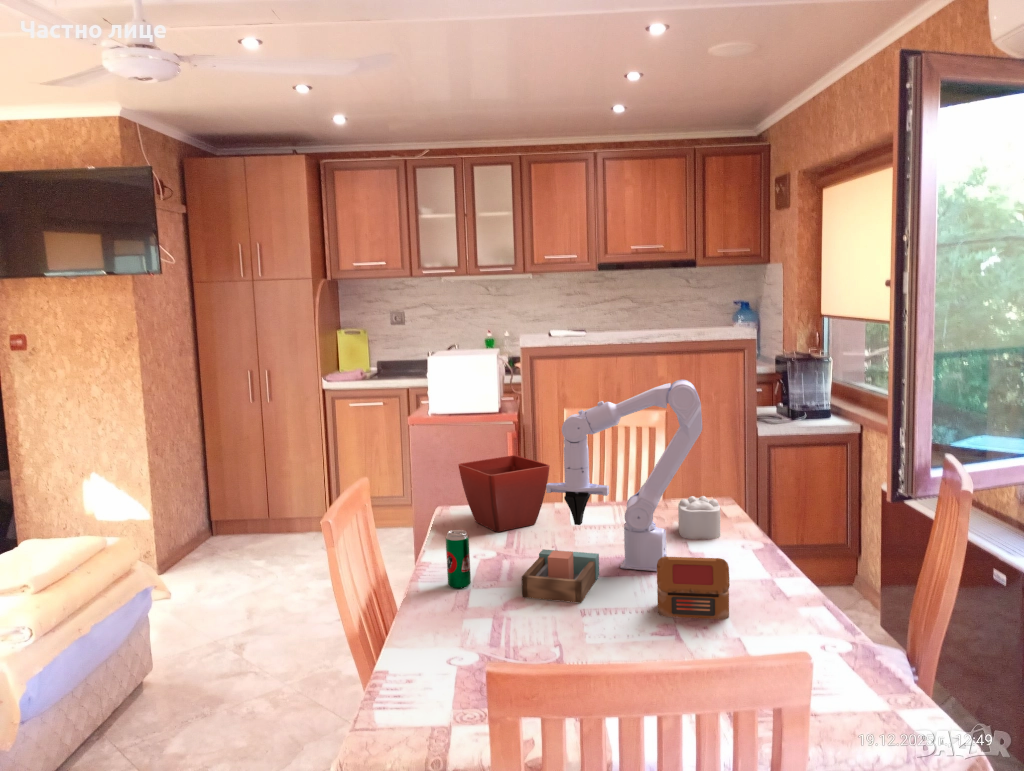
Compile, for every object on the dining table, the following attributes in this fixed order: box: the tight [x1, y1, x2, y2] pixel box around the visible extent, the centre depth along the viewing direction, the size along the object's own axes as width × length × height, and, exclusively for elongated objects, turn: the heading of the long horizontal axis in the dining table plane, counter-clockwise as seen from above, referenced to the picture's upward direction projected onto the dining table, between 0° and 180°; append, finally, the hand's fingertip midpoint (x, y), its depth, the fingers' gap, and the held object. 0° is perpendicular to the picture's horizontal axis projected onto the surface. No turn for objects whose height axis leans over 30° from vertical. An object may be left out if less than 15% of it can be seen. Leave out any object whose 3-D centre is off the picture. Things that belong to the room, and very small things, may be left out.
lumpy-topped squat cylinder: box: [677, 495, 721, 540], centre depth 199 cm, size 10×13×9 cm
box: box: [656, 556, 730, 620], centre depth 149 cm, size 28×28×12 cm
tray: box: [536, 549, 600, 581], centre depth 166 cm, size 13×14×5 cm
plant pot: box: [458, 454, 550, 532], centre depth 212 cm, size 19×19×17 cm
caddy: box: [521, 556, 596, 604], centre depth 163 cm, size 13×12×4 cm
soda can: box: [445, 529, 472, 590], centre depth 167 cm, size 5×5×12 cm
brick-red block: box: [548, 550, 574, 579], centre depth 165 cm, size 4×4×6 cm
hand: (578, 523), depth 178 cm, fingers closed
